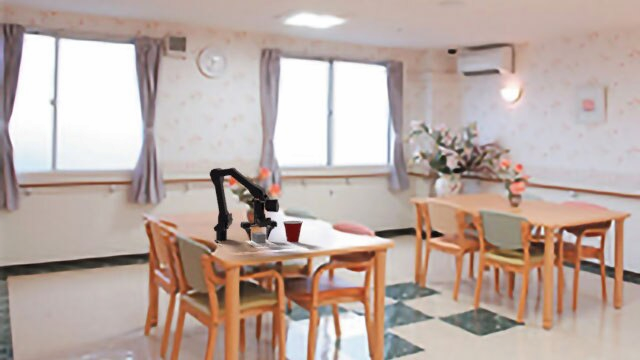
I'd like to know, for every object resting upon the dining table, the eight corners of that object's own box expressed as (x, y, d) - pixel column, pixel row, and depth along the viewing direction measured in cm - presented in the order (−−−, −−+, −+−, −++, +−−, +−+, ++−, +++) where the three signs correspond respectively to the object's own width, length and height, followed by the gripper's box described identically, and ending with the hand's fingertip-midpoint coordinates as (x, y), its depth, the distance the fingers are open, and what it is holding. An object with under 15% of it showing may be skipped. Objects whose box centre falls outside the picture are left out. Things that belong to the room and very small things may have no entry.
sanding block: (252, 240, 313) (252, 232, 312) (260, 240, 315) (261, 231, 314) (256, 243, 306) (256, 235, 305) (265, 242, 308) (265, 234, 307)
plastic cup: (297, 240, 322) (297, 218, 321) (306, 244, 313) (306, 221, 312) (279, 241, 317) (279, 219, 316) (287, 245, 308) (288, 223, 306)
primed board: (245, 242, 312) (245, 240, 312) (266, 241, 317) (266, 239, 317) (256, 250, 294) (256, 248, 294) (279, 249, 299) (279, 246, 299)
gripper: (246, 214, 297) (246, 244, 299) (281, 212, 305) (280, 242, 307) (240, 211, 308) (239, 240, 309) (273, 209, 315) (273, 238, 317)
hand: (258, 240), depth 310 cm, fingers open, 9 cm apart
